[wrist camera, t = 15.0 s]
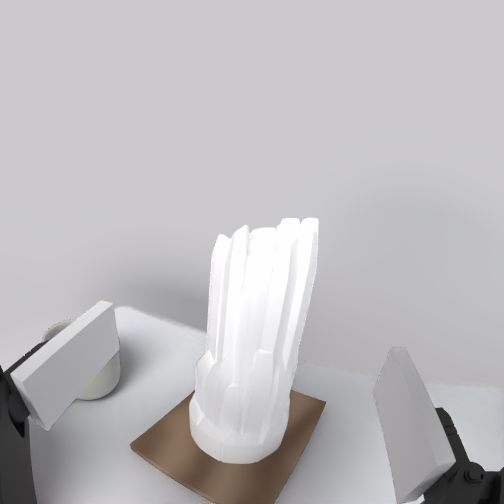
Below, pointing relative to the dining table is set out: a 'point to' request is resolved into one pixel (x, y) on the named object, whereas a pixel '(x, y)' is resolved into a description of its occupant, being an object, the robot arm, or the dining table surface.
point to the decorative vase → (253, 339)
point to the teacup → (103, 380)
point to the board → (228, 474)
